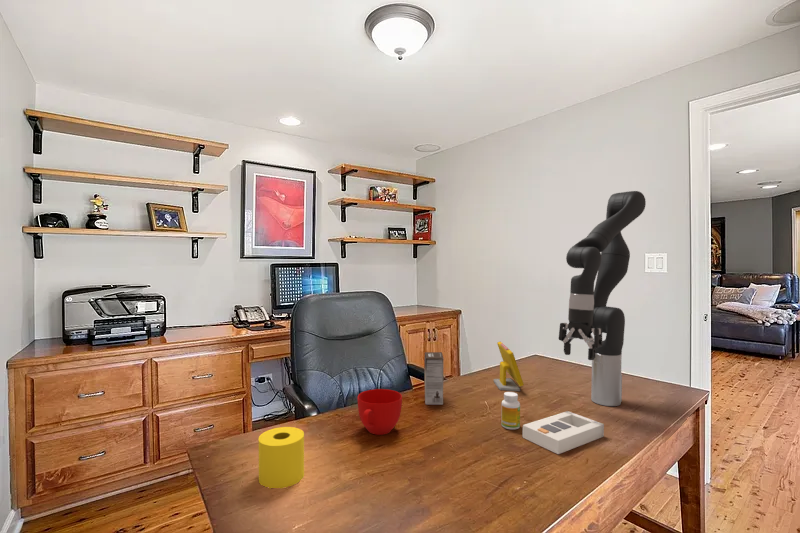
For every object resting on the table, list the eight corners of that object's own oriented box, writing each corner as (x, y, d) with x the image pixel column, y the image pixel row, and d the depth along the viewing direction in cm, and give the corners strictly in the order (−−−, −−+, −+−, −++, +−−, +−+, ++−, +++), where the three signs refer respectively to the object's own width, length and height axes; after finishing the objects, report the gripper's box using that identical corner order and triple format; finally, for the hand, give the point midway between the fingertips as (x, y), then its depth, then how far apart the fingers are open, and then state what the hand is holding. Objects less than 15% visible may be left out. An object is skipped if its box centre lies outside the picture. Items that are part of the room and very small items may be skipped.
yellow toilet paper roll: (260, 492, 89) (260, 449, 88) (256, 470, 98) (256, 431, 97) (307, 482, 93) (307, 441, 92) (299, 462, 102) (299, 424, 101)
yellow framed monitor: (523, 394, 152) (524, 351, 152) (502, 394, 152) (502, 351, 152) (510, 378, 172) (510, 340, 172) (491, 378, 172) (491, 340, 172)
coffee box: (424, 395, 150) (424, 351, 150) (441, 395, 150) (442, 351, 150) (425, 404, 141) (425, 357, 141) (443, 405, 141) (444, 358, 141)
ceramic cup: (342, 441, 113) (342, 405, 113) (368, 418, 129) (368, 386, 129) (387, 449, 109) (387, 411, 108) (408, 424, 124) (408, 391, 124)
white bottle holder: (567, 422, 127) (567, 409, 126) (603, 436, 117) (603, 422, 117) (522, 437, 116) (522, 423, 116) (558, 454, 106) (558, 439, 106)
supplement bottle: (520, 430, 120) (521, 397, 120) (501, 429, 122) (501, 396, 121) (519, 423, 126) (519, 391, 125) (500, 422, 127) (501, 390, 127)
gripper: (608, 310, 132) (606, 361, 132) (569, 305, 144) (566, 352, 144) (594, 310, 128) (592, 363, 128) (555, 305, 140) (553, 353, 140)
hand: (578, 357), depth 136 cm, fingers open, 8 cm apart
